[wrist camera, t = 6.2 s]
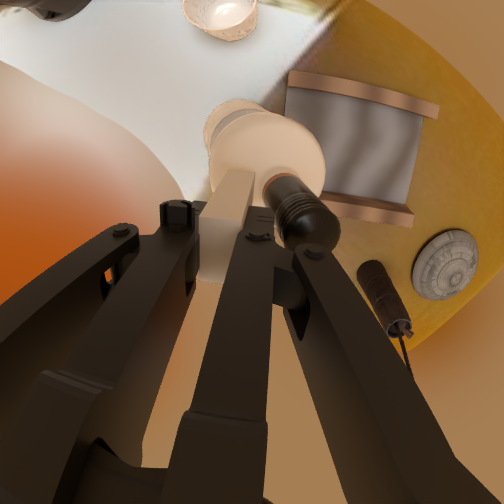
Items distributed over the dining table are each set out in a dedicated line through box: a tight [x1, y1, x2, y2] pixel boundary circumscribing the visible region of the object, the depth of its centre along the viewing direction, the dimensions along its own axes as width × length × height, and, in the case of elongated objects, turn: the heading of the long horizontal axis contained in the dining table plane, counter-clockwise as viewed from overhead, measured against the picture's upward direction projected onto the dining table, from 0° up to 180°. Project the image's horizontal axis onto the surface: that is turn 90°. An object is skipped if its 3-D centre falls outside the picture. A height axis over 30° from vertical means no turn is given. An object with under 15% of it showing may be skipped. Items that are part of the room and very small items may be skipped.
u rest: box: [284, 70, 439, 228], centre depth 36 cm, size 20×18×5 cm
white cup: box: [182, 0, 258, 41], centre depth 26 cm, size 8×8×10 cm
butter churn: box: [357, 260, 414, 379], centre depth 36 cm, size 9×10×28 cm
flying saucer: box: [412, 230, 478, 300], centre depth 44 cm, size 15×15×6 cm
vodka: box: [204, 100, 341, 251], centre depth 25 cm, size 9×9×30 cm
